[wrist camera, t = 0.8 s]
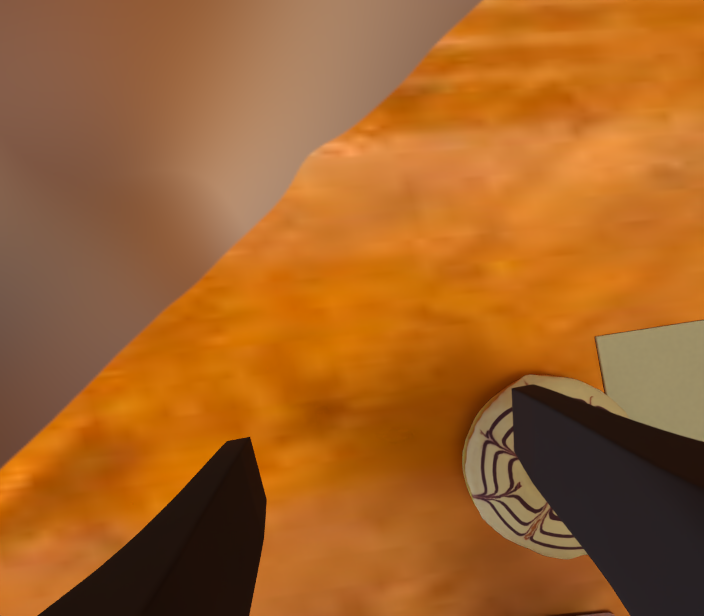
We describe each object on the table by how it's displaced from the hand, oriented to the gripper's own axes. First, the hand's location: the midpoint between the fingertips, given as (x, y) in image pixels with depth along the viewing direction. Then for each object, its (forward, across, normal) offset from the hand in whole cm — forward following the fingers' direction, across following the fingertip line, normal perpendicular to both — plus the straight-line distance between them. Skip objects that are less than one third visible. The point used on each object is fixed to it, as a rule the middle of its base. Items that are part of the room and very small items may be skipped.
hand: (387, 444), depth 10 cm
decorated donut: (+12, -11, +12) cm, 21 cm away
